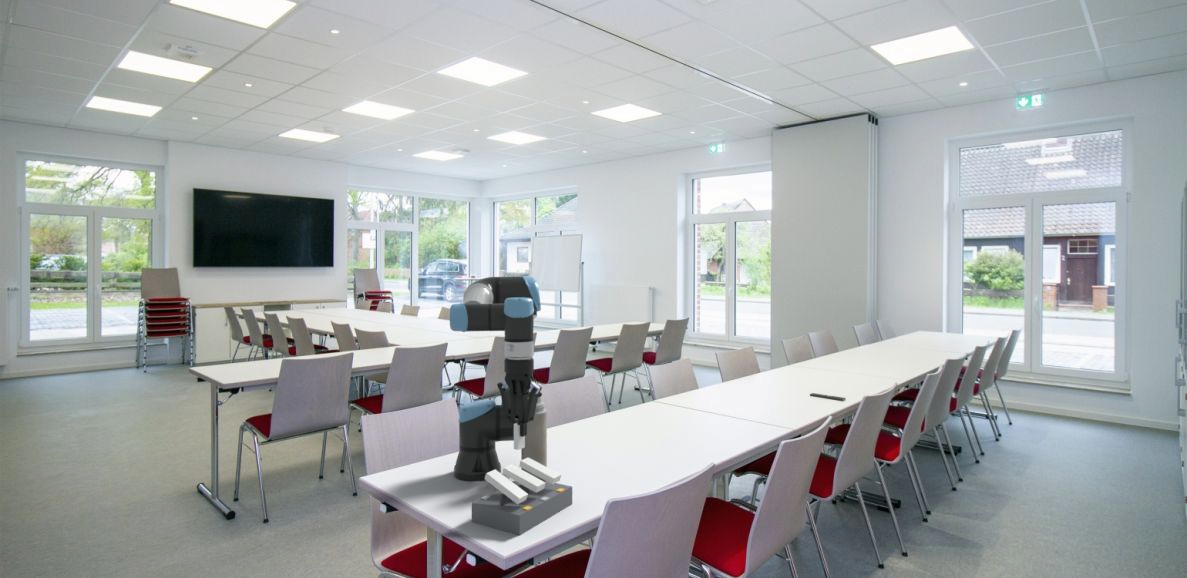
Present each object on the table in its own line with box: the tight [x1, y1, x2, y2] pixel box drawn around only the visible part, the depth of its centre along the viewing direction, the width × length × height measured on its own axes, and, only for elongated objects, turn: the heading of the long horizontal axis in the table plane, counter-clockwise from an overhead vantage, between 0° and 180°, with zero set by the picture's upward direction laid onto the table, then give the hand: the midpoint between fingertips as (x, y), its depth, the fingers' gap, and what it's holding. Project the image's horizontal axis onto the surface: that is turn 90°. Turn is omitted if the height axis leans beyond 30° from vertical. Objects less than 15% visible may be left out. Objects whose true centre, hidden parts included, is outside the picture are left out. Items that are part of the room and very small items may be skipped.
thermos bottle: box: [520, 391, 548, 477], centre depth 191 cm, size 8×8×28 cm
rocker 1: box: [484, 469, 528, 504], centre depth 159 cm, size 12×4×2 cm, turn 59°
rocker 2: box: [501, 463, 545, 493], centre depth 166 cm, size 12×4×2 cm, turn 59°
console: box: [471, 476, 573, 536], centre depth 166 cm, size 16×24×8 cm, turn 149°
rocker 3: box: [518, 458, 562, 484], centre depth 172 cm, size 12×4×2 cm, turn 59°
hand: (519, 448), depth 157 cm, fingers closed
